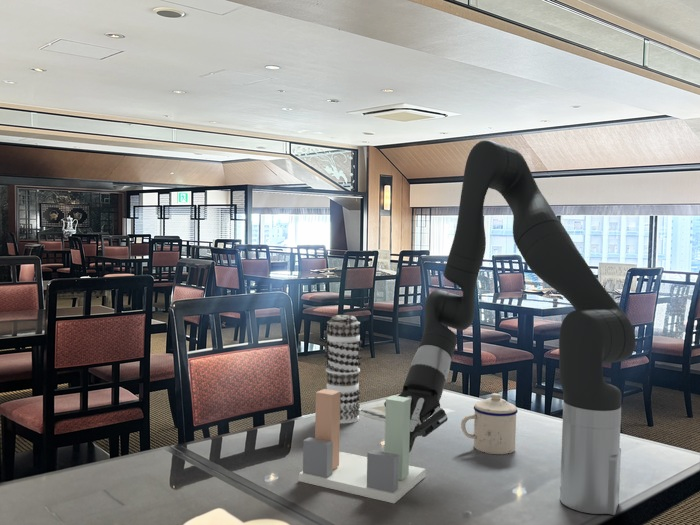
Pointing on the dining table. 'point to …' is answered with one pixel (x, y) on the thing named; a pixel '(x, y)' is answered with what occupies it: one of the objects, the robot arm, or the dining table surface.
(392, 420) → the sage tab
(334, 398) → the terracotta tab
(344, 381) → the decorative candle
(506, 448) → the teacup with lid
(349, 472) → the twin block stand
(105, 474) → the dining table surface
